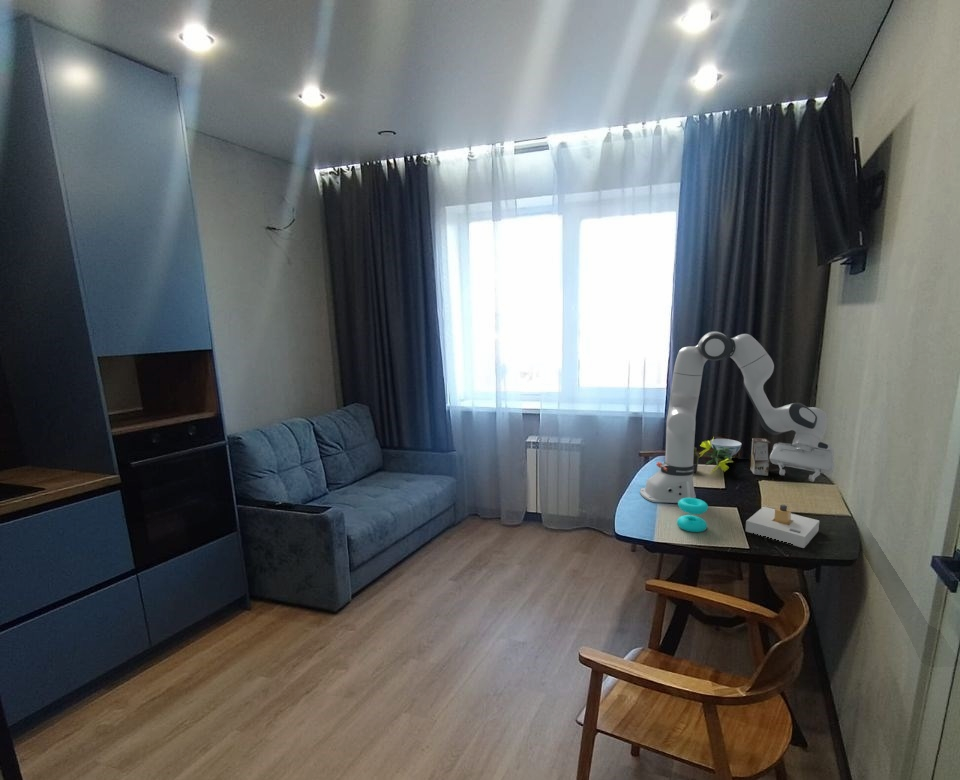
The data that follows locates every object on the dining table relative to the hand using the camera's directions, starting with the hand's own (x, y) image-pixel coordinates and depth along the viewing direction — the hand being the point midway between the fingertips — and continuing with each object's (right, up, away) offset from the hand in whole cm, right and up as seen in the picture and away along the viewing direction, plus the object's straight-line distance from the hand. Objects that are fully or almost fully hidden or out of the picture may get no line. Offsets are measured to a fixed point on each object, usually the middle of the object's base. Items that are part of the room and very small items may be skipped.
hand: (796, 477), depth 180 cm
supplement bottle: (-13, -8, +60) cm, 62 cm away
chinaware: (+16, -4, +84) cm, 85 cm away
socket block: (-9, -18, -6) cm, 21 cm away
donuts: (-39, -18, -1) cm, 43 cm away
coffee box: (+19, -8, +57) cm, 61 cm away
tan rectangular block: (-9, -18, -6) cm, 21 cm away
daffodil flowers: (+2, -7, +65) cm, 65 cm away
